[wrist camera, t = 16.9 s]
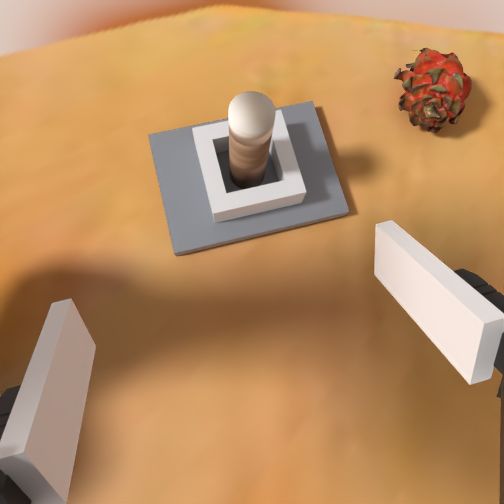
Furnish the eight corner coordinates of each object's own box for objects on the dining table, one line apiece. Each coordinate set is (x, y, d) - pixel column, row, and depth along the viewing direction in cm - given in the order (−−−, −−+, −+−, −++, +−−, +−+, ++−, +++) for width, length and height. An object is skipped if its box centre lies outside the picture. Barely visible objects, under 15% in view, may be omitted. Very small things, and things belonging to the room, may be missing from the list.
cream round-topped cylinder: (234, 192, 48) (234, 137, 35) (225, 161, 49) (223, 96, 36) (268, 185, 48) (281, 127, 36) (259, 153, 49) (268, 87, 36)
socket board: (176, 256, 47) (169, 245, 42) (150, 140, 51) (141, 119, 46) (346, 215, 49) (358, 201, 44) (310, 107, 53) (318, 83, 48)
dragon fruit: (414, 155, 54) (400, 88, 58) (483, 132, 49) (463, 62, 54) (397, 120, 47) (384, 48, 51) (476, 89, 43) (454, 14, 47)
